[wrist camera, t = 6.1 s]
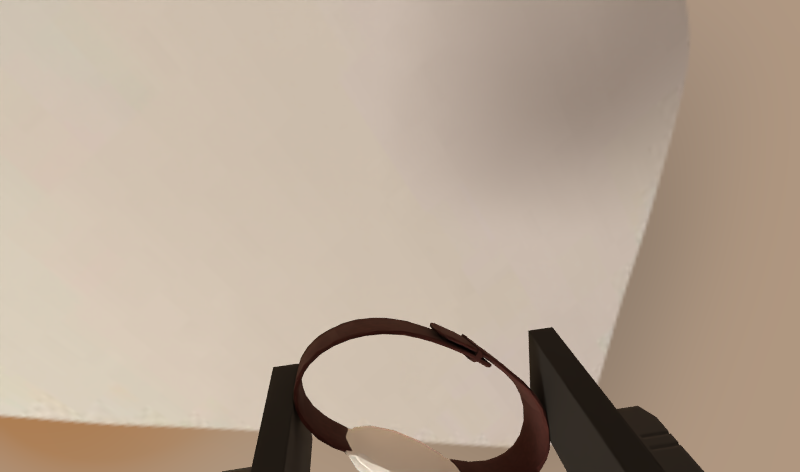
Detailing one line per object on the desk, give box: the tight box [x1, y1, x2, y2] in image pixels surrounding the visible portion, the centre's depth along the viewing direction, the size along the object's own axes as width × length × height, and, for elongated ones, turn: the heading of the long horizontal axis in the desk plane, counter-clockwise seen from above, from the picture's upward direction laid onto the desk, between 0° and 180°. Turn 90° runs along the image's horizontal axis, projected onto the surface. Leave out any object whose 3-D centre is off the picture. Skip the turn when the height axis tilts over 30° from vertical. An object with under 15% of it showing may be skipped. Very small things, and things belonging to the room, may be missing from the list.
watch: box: [294, 318, 550, 472], centre depth 16 cm, size 8×5×4 cm, turn 66°
